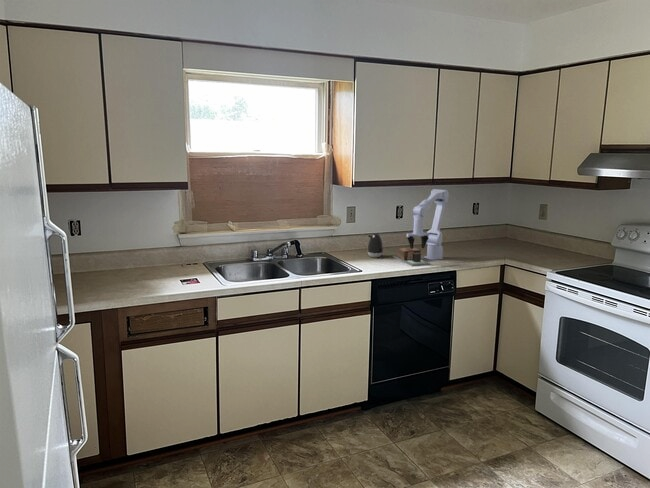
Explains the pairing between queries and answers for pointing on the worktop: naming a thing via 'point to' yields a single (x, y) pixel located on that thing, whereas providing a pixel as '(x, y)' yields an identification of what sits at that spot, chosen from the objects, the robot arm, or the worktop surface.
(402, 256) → the tunnel
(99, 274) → the worktop surface
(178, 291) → the worktop surface
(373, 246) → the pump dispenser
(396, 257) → the track
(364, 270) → the worktop surface
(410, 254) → the block
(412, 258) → the sled
